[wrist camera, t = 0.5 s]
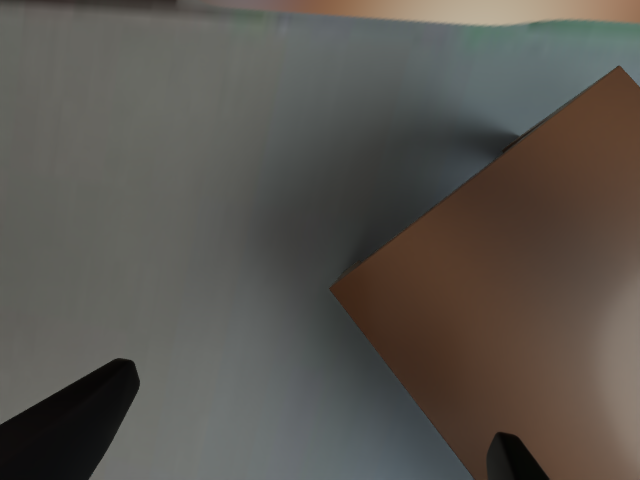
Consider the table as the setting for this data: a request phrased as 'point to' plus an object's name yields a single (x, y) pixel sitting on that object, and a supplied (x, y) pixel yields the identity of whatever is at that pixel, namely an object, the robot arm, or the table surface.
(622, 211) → the low table
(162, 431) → the table surface
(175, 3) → the table surface
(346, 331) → the table surface
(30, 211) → the table surface
